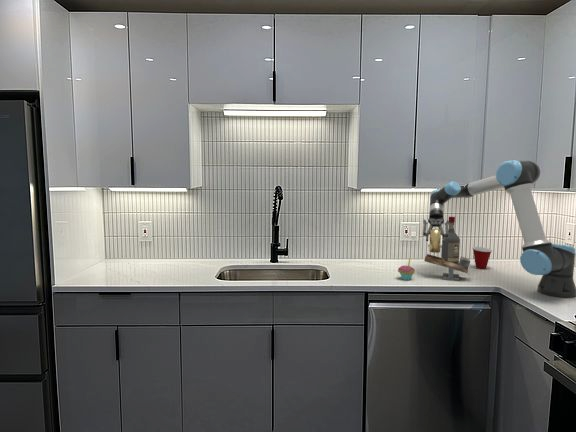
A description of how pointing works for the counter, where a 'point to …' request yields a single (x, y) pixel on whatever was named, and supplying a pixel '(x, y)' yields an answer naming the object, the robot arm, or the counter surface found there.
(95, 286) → the counter surface
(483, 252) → the plastic cup
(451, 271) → the pivot stand
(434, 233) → the cylinder
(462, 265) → the balance beam
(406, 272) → the cupcake
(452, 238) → the liquor
